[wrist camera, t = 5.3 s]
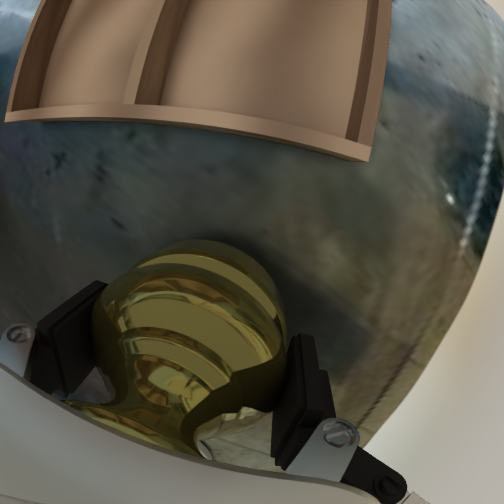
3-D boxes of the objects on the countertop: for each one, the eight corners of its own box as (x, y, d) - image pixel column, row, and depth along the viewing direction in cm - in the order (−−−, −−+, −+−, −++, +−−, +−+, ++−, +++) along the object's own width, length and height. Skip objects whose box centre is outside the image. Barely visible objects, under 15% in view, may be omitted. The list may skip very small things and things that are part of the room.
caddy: (374, 1, 9) (392, -28, 6) (348, 161, 13) (368, 162, 10) (78, -3, 10) (50, -18, 7) (40, 121, 14) (4, 122, 10)
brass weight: (183, 200, 11) (-42, 304, 2) (320, 304, 12) (369, 531, 3) (114, 315, 13) (-7, 446, 4) (226, 393, 14) (185, 558, 5)
